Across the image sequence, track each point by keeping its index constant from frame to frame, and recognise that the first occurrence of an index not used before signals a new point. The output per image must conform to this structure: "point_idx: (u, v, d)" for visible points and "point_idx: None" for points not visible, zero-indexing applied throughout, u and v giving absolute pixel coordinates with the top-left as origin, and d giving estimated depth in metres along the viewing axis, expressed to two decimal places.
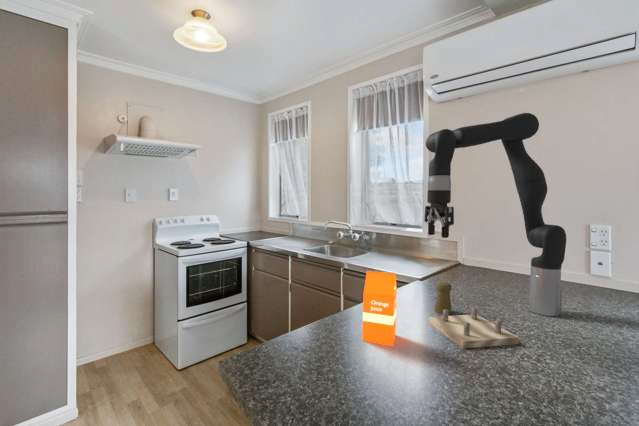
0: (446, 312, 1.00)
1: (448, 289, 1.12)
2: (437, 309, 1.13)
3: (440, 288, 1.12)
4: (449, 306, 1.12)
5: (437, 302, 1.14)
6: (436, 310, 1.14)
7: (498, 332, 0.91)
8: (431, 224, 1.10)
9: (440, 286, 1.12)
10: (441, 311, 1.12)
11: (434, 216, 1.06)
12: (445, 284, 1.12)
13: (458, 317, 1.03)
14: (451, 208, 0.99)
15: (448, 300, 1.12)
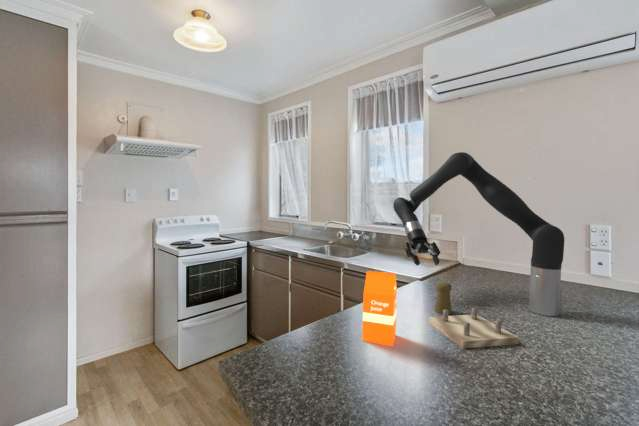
0: (446, 312, 1.00)
1: (448, 289, 1.11)
2: (437, 309, 1.13)
3: (440, 288, 1.12)
4: (449, 306, 1.12)
5: (437, 302, 1.14)
6: (436, 310, 1.14)
7: (498, 332, 0.91)
8: (433, 256, 1.28)
9: (440, 286, 1.12)
10: (441, 311, 1.12)
11: None
12: (445, 284, 1.12)
13: (458, 317, 1.03)
14: (405, 244, 1.30)
15: (448, 300, 1.12)
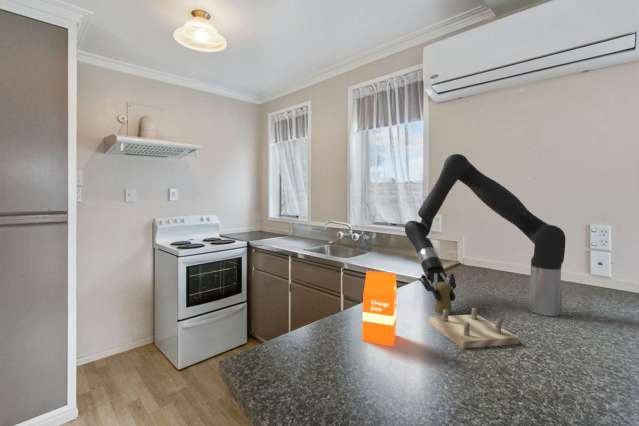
0: (446, 312, 1.00)
1: (448, 289, 1.11)
2: (437, 309, 1.13)
3: (440, 288, 1.12)
4: (449, 306, 1.12)
5: (437, 302, 1.14)
6: (436, 310, 1.14)
7: (498, 332, 0.91)
8: None
9: (440, 286, 1.12)
10: (441, 311, 1.12)
11: None
12: (445, 284, 1.12)
13: (458, 317, 1.03)
14: (421, 277, 1.17)
15: (448, 300, 1.12)
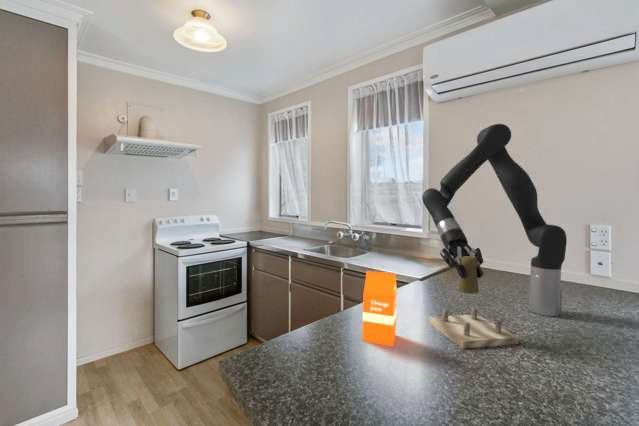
0: (446, 312, 1.00)
1: (475, 264, 0.95)
2: (461, 287, 0.97)
3: (465, 263, 0.96)
4: (476, 284, 0.95)
5: (461, 279, 0.97)
6: (460, 289, 0.97)
7: (498, 332, 0.91)
8: None
9: (465, 260, 0.95)
10: (466, 290, 0.95)
11: None
12: (471, 258, 0.95)
13: (458, 317, 1.03)
14: (442, 251, 1.00)
15: (475, 277, 0.95)
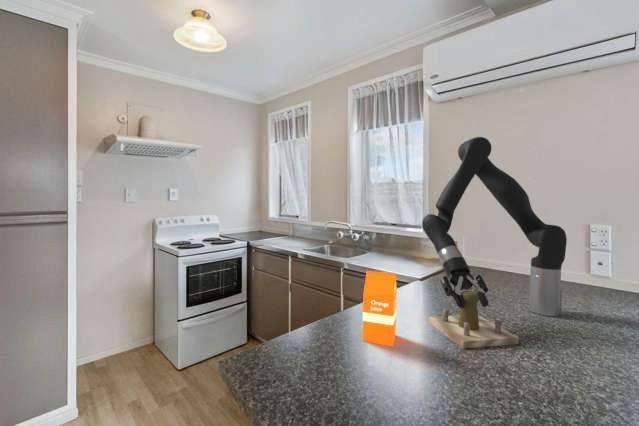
0: (446, 312, 1.00)
1: (475, 300, 0.94)
2: (461, 323, 0.95)
3: (465, 299, 0.94)
4: (476, 320, 0.94)
5: (462, 315, 0.96)
6: (460, 324, 0.96)
7: (498, 332, 0.91)
8: (479, 294, 0.98)
9: (466, 296, 0.94)
10: None
11: None
12: (471, 294, 0.94)
13: (458, 317, 1.03)
14: (443, 278, 0.99)
15: (475, 313, 0.94)
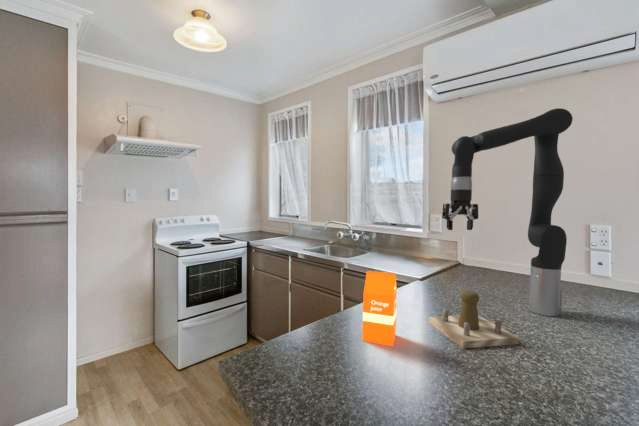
0: (446, 312, 1.00)
1: (475, 300, 0.94)
2: (461, 323, 0.95)
3: (465, 299, 0.94)
4: (476, 320, 0.94)
5: (462, 315, 0.96)
6: (460, 324, 0.96)
7: (498, 332, 0.91)
8: (469, 220, 1.21)
9: (465, 296, 0.94)
10: None
11: None
12: (471, 294, 0.94)
13: (458, 317, 1.03)
14: (445, 204, 1.19)
15: (475, 313, 0.94)
